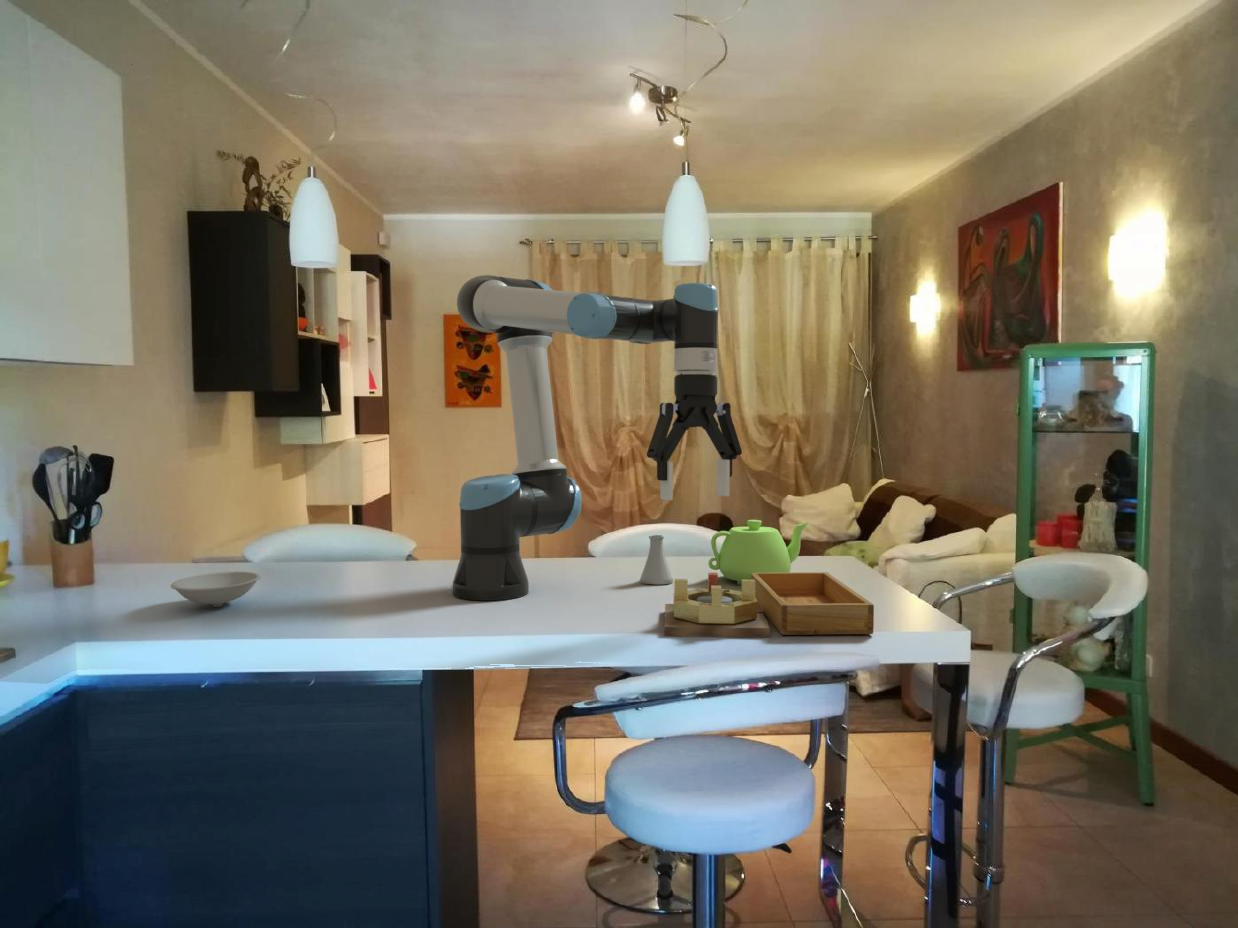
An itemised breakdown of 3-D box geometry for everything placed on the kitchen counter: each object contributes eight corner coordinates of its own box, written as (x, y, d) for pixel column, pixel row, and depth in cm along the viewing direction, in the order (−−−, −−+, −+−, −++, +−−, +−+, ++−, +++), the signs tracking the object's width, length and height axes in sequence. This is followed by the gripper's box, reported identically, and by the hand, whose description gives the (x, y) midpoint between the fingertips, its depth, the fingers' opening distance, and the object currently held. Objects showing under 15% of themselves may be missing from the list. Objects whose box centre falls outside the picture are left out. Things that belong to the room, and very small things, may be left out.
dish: (225, 618, 157) (224, 590, 157) (151, 615, 159) (150, 588, 159) (278, 597, 175) (277, 572, 174) (211, 595, 177) (210, 570, 176)
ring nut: (673, 622, 146) (673, 587, 146) (673, 603, 160) (673, 572, 160) (759, 623, 145) (759, 588, 145) (751, 604, 159) (752, 572, 159)
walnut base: (664, 635, 145) (664, 609, 144) (665, 611, 162) (665, 588, 161) (771, 637, 144) (772, 610, 143) (761, 612, 161) (761, 589, 160)
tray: (750, 598, 175) (750, 570, 174) (827, 598, 175) (827, 570, 175) (780, 639, 144) (781, 604, 144) (873, 639, 144) (874, 604, 144)
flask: (674, 579, 192) (674, 533, 192) (672, 585, 185) (672, 538, 185) (640, 578, 193) (640, 533, 192) (638, 585, 186) (638, 538, 185)
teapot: (799, 573, 199) (800, 515, 198) (819, 586, 184) (820, 524, 183) (702, 574, 198) (702, 516, 197) (714, 588, 183) (715, 525, 182)
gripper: (650, 371, 145) (650, 503, 147) (762, 374, 158) (761, 495, 160) (626, 373, 152) (626, 499, 153) (735, 375, 164) (734, 492, 166)
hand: (695, 497), depth 156 cm, fingers open, 12 cm apart
